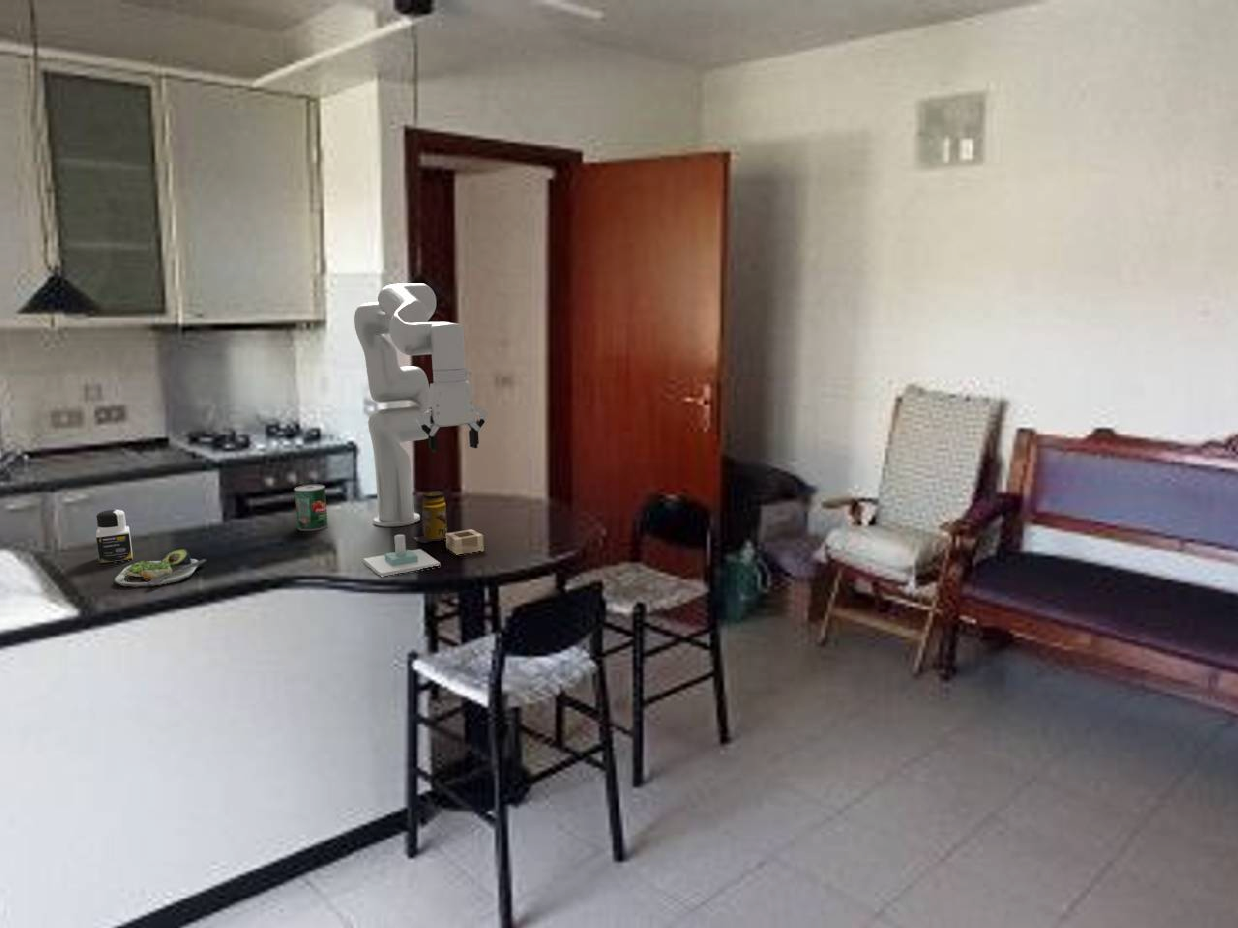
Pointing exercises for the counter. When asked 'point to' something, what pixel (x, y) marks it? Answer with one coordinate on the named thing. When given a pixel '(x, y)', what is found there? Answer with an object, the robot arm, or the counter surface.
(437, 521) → the condiment
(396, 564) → the post block
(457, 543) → the collar
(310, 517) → the canned tomato
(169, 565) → the salad plate
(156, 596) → the counter surface
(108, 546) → the medicine bottle
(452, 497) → the counter surface
